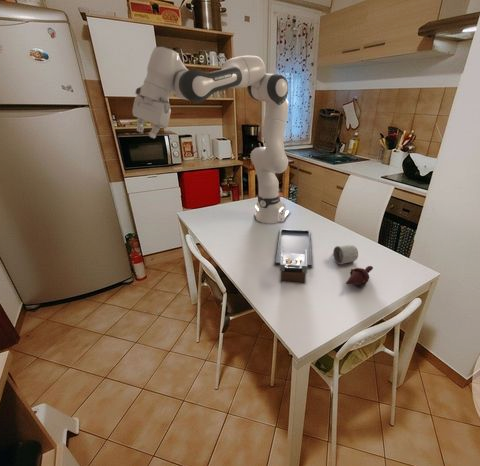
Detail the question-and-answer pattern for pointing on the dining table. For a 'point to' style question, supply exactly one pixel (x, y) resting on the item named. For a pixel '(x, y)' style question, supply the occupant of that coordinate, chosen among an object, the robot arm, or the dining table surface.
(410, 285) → the dining table surface
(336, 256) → the ceramic mug
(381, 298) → the dining table surface
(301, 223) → the dining table surface
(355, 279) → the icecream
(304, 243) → the tray
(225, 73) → the robot arm
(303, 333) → the dining table surface
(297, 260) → the key
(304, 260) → the tip dish
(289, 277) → the dark brown block
